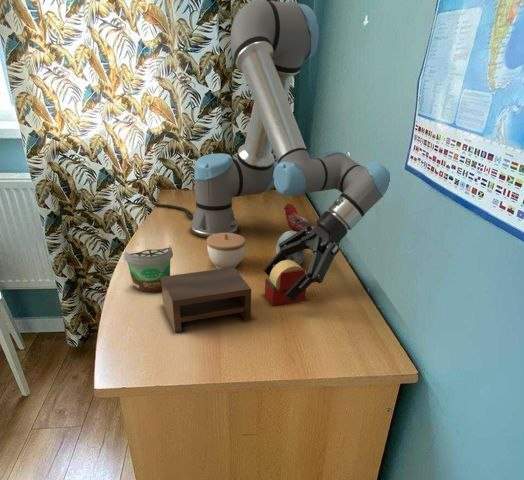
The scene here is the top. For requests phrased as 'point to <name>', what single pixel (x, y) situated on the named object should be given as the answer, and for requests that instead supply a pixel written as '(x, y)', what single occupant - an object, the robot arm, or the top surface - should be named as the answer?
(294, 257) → the spool
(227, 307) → the shelf
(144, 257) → the food container
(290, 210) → the decorative bird figurine
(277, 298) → the tape dispenser
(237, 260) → the trinket box
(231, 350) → the top surface
